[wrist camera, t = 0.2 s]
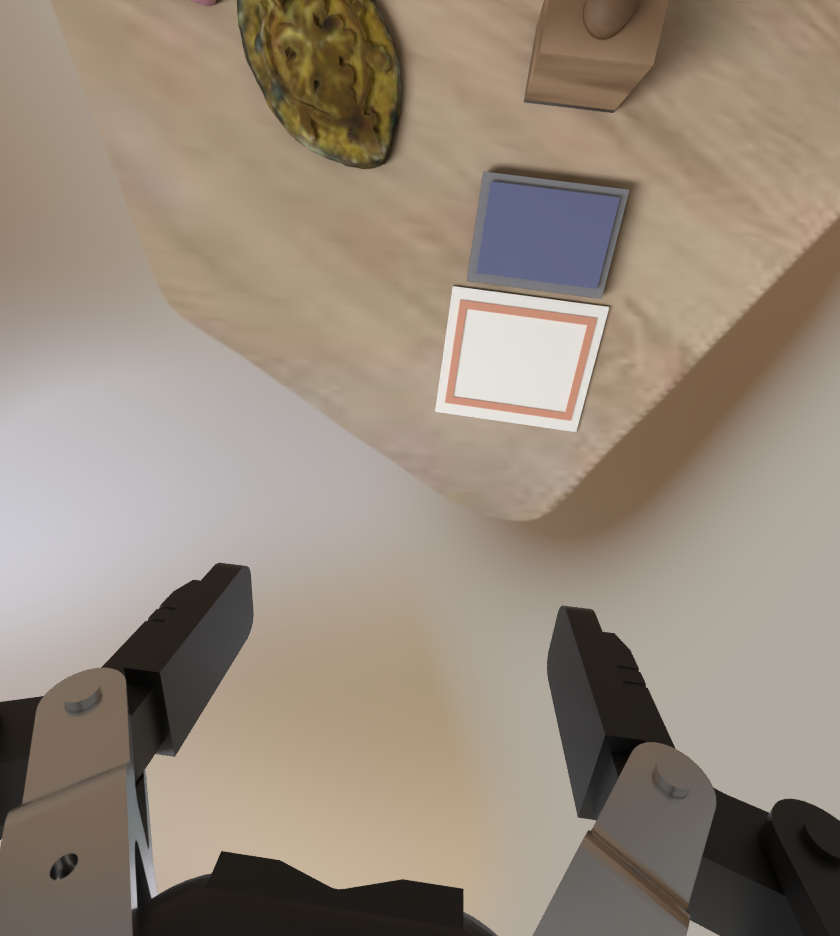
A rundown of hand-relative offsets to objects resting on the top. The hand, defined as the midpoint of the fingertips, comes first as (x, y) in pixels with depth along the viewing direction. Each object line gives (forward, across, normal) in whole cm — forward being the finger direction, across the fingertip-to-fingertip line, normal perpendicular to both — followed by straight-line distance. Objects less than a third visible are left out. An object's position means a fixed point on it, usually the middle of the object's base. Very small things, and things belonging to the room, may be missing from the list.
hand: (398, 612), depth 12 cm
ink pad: (+29, -6, -12) cm, 32 cm away
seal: (+29, +10, -21) cm, 38 cm away
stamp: (+29, -6, -22) cm, 37 cm away
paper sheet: (+29, -6, -3) cm, 29 cm away
